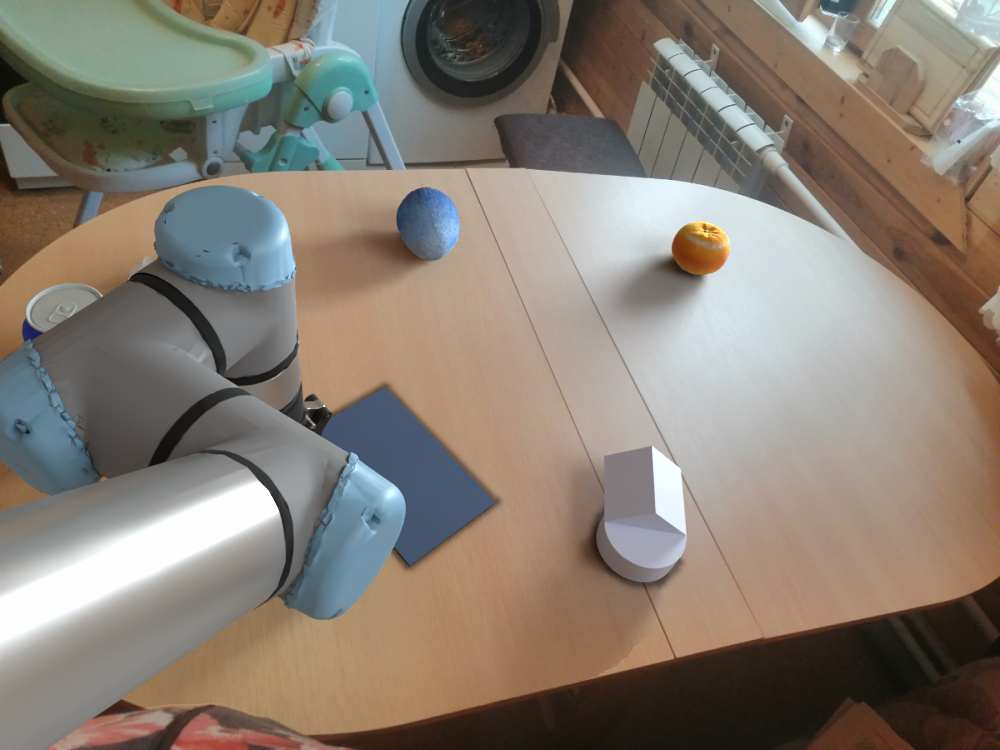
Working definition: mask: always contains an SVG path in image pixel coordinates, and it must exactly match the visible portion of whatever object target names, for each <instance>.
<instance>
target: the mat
mask: <svg viewBox="0 0 1000 750" xmlns="http://www.w3.org/2000/svg"><path fill="white" fill-rule="evenodd" d="M321 437H323V438H324V439H326V440H328V441H329V442H331V443H333V444H334V445H336V446H338V447H339V448H341V449H343V450H344V451H346V452H348V453H349V454H350V452H352V453H354V454H356V455H357V456H358V459H359V460H360V461H361V462H363V463H364V464H365V465H367V466H368V467H369V468H371V469H372V470H374V471H375V472H376V473H378V474H379V475H381V476H382V477H384V478H385V479H386V480H388V481H389V482H391V483H392V484H394V485H395V486H396V487H397V488H398V489H399V490H400V492H401V493H402V495H403V497H404V500H405V505H406V511H405V518H404V523H403V526H402V529H401V532H400V534H399V537H398V539H397V541H396V543H395V545H394V547H393V549H395V551H397V553H398V554H399V555H400V556H401V558H402V559H403V560H404V561H405V562H406V563H407V564H408V566H409V567H411V566H412V565H414V564H415V563H416V562H418V561H419V560H420V559H422V558H423V557H424V556H426V555H427V554H428V553H430V552H431V551H432V550H434V549H435V548H436V547H438V546H439V545H440V544H442V543H443V542H444V541H446V540H447V539H449V538H450V537H452V536H453V535H455V533H456V532H458V531H459V530H461V529H462V528H463V527H465V526H466V525H468V524H469V523H470V522H471V521H473V520H474V519H475V518H477V517H479V516H480V515H482V513H484V512H485V511H486V510H488V509H489V508H491V507H493V505H495V504H496V501H495V500H494V499H493V498H492V496H490V494H488V493H487V492H486V490H485V489H483V487H482V486H481V485H480V484H479V483H478V482H477V481H476V480H475V479H474V478H473V477H472V476H471V475H470V474H469V473H468V472H467V471H466V470H465V468H464V467H463V466H461V465H460V463H459V462H458V461H457V460H456V459H455V458H454V457H453V456H452V455H451V454H450V453H449V452H448V451H447V450H446V449H445V448H444V446H442V445H441V443H439V441H438V440H436V439H435V437H433V435H432V434H431V433H430V432H429V431H428V430H427V429H426V428H425V427H424V426H423V425H422V424H421V423H420V422H419V421H418V419H416V417H415V416H413V414H411V413H410V411H409V410H408V409H407V408H406V407H405V406H404V405H403V404H402V402H400V400H398V399H397V398H396V396H394V395H393V394H392V393H391V392H390V390H388V388H387V387H385V386H384V387H383V388H381V389H379V390H378V391H375V392H374V393H372V394H370V395H369V396H367V397H365V398H363V399H362V400H359V401H358V402H355V404H353V405H351V406H349V407H347V408H345V409H343V410H342V411H340V412H338V413H337V414H335V415H332V416H331V418H330V420H329V421H328V423H327V425H326V426H325V428H324V430H323V431H322V435H321Z"/></svg>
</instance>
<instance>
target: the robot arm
mask: <svg viewBox="0 0 1000 750" xmlns="http://www.w3.org/2000/svg"><path fill="white" fill-rule="evenodd" d="M153 228H154V229H153V232H154V240H155V241H153V247H154V248H153V249H154V250H155V255H156V258H157V259H156V260H155V261H153V262H152V263H150V264H149V265H147V266H145V267H144V268H142V269H141V270H139V271H138V272H136V273H135V274H133V275H132V276H131V277H130V279H129V280H128V279H127V280H126V281H125V282H122V283H121V284H120V285H118V286H116V287H115V288H113V289H112V290H110V291H109V292H107V293H106V294H104V295H102V297H101V298H99V299H98V300H96V301H94V302H93V303H91V304H90V305H88V306H86V307H85V308H83V309H82V310H80V311H78V312H77V313H75V314H74V315H72V316H70V317H69V318H67V319H66V320H64V321H62V322H61V323H59V324H58V325H56V326H54V327H53V328H51V329H50V330H48V331H46V332H45V333H43V334H41V335H40V336H38V337H36V338H35V339H33V340H31V339H29V340H27V341H25V342H24V341H23V342H22V344H21V346H20V347H18V348H16V350H14V351H13V352H11V353H9V354H8V355H7V356H6V357H4V358H2V359H1V360H0V462H2V464H4V465H5V466H6V467H7V468H8V469H9V470H10V471H11V472H13V473H14V474H15V475H16V476H18V478H20V479H21V480H22V481H23V482H25V483H26V484H27V485H28V486H30V487H32V488H33V489H35V490H36V491H38V492H40V493H42V494H45V495H47V497H43V498H40V499H37V500H34V501H31V502H27V503H23V504H20V505H17V506H13V507H10V508H7V509H3V510H0V750H48V749H50V748H51V747H53V746H54V745H55V744H57V743H58V742H60V741H62V740H63V739H64V738H66V737H68V736H69V735H70V734H72V733H73V732H75V731H76V730H78V729H79V728H80V727H82V726H83V725H86V724H87V723H88V722H90V721H91V720H93V719H94V718H95V717H98V716H99V715H100V714H101V713H103V712H105V711H106V710H107V709H109V708H110V707H112V706H114V705H115V704H116V703H118V702H119V701H121V700H123V699H124V698H125V697H126V696H128V695H130V694H132V693H133V692H134V691H135V690H137V689H139V688H140V687H142V686H143V685H145V684H147V682H149V681H151V680H152V679H154V678H155V677H156V676H158V675H159V674H161V673H162V672H164V671H165V670H167V669H168V668H170V667H171V666H172V665H174V664H176V663H177V662H178V661H180V660H182V659H183V658H185V657H187V656H188V655H190V654H191V653H192V652H194V651H195V650H197V649H198V648H200V647H201V646H203V645H204V644H205V643H207V642H209V641H210V640H211V639H213V638H214V637H216V636H217V635H219V634H220V633H222V632H223V631H224V630H226V629H227V628H229V627H231V626H232V625H233V624H235V623H237V622H238V621H240V620H241V619H243V618H244V617H245V616H247V615H248V614H250V613H252V612H253V611H255V610H256V609H258V608H260V607H261V606H262V605H264V604H266V603H268V602H270V601H272V600H274V599H275V598H277V597H278V598H279V599H280V600H282V601H283V602H284V603H283V606H284V607H286V608H287V609H290V610H291V609H294V610H296V611H297V612H299V613H302V614H303V615H306V616H308V617H309V618H311V619H314V620H318V621H325V620H327V621H330V620H334V619H336V618H338V617H341V616H342V615H343V614H345V613H346V612H347V611H349V609H350V608H352V606H354V604H356V603H357V602H358V600H359V599H360V598H361V597H362V596H363V595H364V594H365V592H366V591H367V590H368V588H369V587H370V586H371V584H372V583H373V581H374V580H375V579H376V578H377V577H378V575H379V573H380V571H381V570H382V569H383V567H384V566H385V564H386V562H387V561H388V558H389V557H390V555H391V553H392V551H393V549H394V545H395V543H396V541H397V539H398V537H399V534H400V532H401V529H402V526H403V523H404V518H405V511H406V505H405V500H404V497H403V495H402V493H401V492H400V490H399V489H398V488H397V487H396V486H395V485H394V484H392V483H391V482H389V481H388V480H386V479H385V478H384V477H382V476H381V475H379V474H378V473H376V472H375V471H374V470H372V469H371V468H369V467H368V466H367V465H365V464H364V463H363V462H361V461H360V460H359V459H358V456H357V455H356V454H354V453H352V452H350V454H349V453H348V452H346V451H344V450H343V449H341V448H339V447H338V446H336V445H334V444H333V443H331V442H329V441H328V440H326V439H324V438H323V437H321V435H322V431H323V430H324V428H325V426H326V425H327V423H328V421H329V420H330V418H331V417H333V412H332V411H330V409H329V408H328V407H327V406H326V405H325V404H324V403H323V401H322V400H320V398H319V397H318V396H317V395H316V394H315V393H310V394H309V395H307V396H306V397H305V399H304V393H303V390H304V389H303V381H302V380H303V373H302V372H303V371H302V363H301V351H300V350H301V349H300V339H299V329H298V317H297V316H298V314H297V295H296V294H297V293H296V275H297V269H298V267H297V263H296V259H295V255H294V251H293V245H292V238H291V233H290V229H289V224H288V222H287V219H286V217H285V214H284V213H283V212H282V211H281V209H280V208H279V207H278V206H277V205H276V204H275V203H274V202H273V201H271V200H270V199H268V198H267V197H265V196H262V195H260V194H258V193H257V192H255V191H254V190H251V189H249V188H244V187H239V186H234V185H226V184H224V185H222V184H218V185H217V184H215V185H206V186H200V187H195V188H192V189H188V190H185V191H183V192H181V193H179V194H177V195H176V196H174V197H173V198H171V199H169V200H168V201H167V202H165V204H164V206H163V208H162V210H161V212H160V213H159V214H158V216H157V218H156V220H155V221H154V227H153ZM157 255H158V257H157ZM103 477H104V478H106V479H104V480H102V478H103Z"/></svg>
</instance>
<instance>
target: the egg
mask: <svg viewBox="0 0 1000 750" xmlns="http://www.w3.org/2000/svg"><path fill="white" fill-rule="evenodd" d="M395 220H396V229H397V231H398V233H399V235H400V237H401V239H402V241H403V242H404V244H405V246H406V247H407V249H408V250H409V251H410V252H411V253H412V254H414V255H415V256H417V257H418V258H419V259H422V260H424V261H427V262H428V261H431V262H433V261H435V262H436V261H438V260H440V259H442V258H443V257H445V256H447V255H448V254H449V253H450V251H452V249H454V247H455V245H456V244H457V242H458V240H459V236H460V230H461V229H460V227H461V225H460V217H459V214H458V209H457V207H456V205H455V203H454V202H453V200H452V199H451V197H450V196H449V195H447V194H446V193H444V192H443V191H441V190H439V189H436V188H433V187H429V186H423V184H421V187H418V188H416V189H414V190H411V191H410V192H409V193H407V194H406V195H405V196H404V198H403V199H402V200H401V203H399V206H397V210H396V216H395Z"/></svg>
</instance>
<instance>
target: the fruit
mask: <svg viewBox="0 0 1000 750" xmlns="http://www.w3.org/2000/svg"><path fill="white" fill-rule="evenodd" d="M730 252H731V242H730V239H729V236H728V235H727V233H726V232H725V231H724V230H723V229H722V228H720V227H719V226H718V225H715V224H713V223H710V222H707V221H693V222H689V223H687V224H685V225H683V226H682V227H681V228H679V229H678V231H677V232H676V234H675V235H674V237H673V240H672V243H671V254H672V257H673V259H674V261H675V262H676V263H677V265H678V266H679V267H680V269H682V270H683V271H685V272H686V273H689V274H691V275H695V276H696V275H698V276H699V275H701V276H704V275H710V274H713V273H716V272H718V271H719V270H720V269H721V268H722V267H723V266H724V265H725V264H726V262H727V260H728V258H729V256H730Z"/></svg>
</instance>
